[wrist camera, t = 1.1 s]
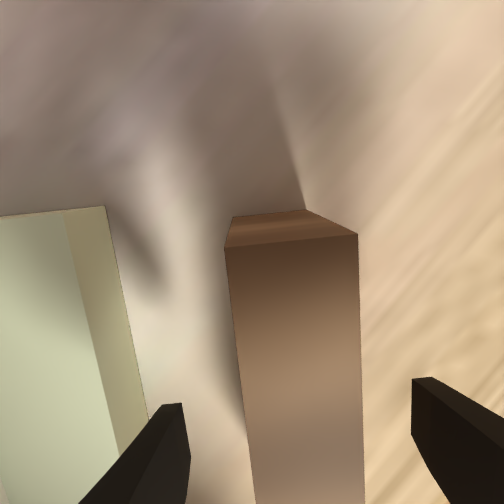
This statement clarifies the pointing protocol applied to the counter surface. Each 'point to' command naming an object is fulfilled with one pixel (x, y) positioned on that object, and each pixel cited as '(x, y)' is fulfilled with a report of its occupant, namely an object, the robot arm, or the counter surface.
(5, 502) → the tile
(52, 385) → the plate
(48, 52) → the counter surface
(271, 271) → the brown wooden block
